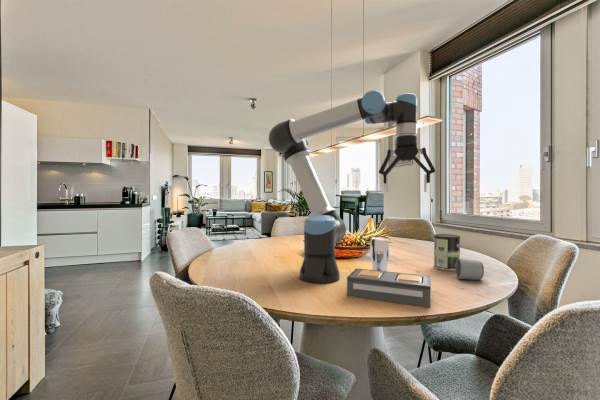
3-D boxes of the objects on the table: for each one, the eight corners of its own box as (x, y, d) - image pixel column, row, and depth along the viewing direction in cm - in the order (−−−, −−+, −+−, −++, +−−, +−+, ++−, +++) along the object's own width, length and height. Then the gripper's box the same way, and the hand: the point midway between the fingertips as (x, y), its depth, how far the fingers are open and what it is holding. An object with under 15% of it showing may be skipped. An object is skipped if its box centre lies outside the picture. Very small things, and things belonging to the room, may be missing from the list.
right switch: (396, 290, 92) (396, 279, 92) (398, 284, 98) (398, 273, 98) (421, 293, 89) (421, 281, 89) (421, 286, 96) (422, 275, 96)
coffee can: (459, 266, 135) (459, 234, 134) (460, 271, 125) (460, 237, 125) (433, 264, 139) (434, 233, 139) (433, 269, 130) (433, 236, 129)
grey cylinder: (485, 282, 110) (485, 261, 110) (460, 281, 112) (460, 260, 112) (475, 275, 121) (475, 256, 121) (452, 274, 122) (452, 255, 122)
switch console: (346, 296, 95) (346, 277, 95) (355, 285, 107) (356, 268, 106) (430, 307, 86) (430, 286, 86) (430, 294, 97) (430, 275, 97)
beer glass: (385, 281, 111) (386, 240, 111) (367, 278, 115) (367, 239, 115) (391, 277, 117) (391, 238, 117) (373, 274, 121) (373, 236, 121)
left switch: (356, 285, 97) (356, 274, 97) (361, 279, 103) (361, 269, 103) (379, 288, 94) (379, 276, 94) (382, 282, 100) (382, 271, 100)
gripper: (442, 135, 114) (441, 192, 115) (375, 140, 124) (374, 192, 125) (443, 131, 107) (442, 191, 108) (371, 136, 117) (371, 192, 118)
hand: (406, 192), depth 116 cm, fingers open, 13 cm apart
